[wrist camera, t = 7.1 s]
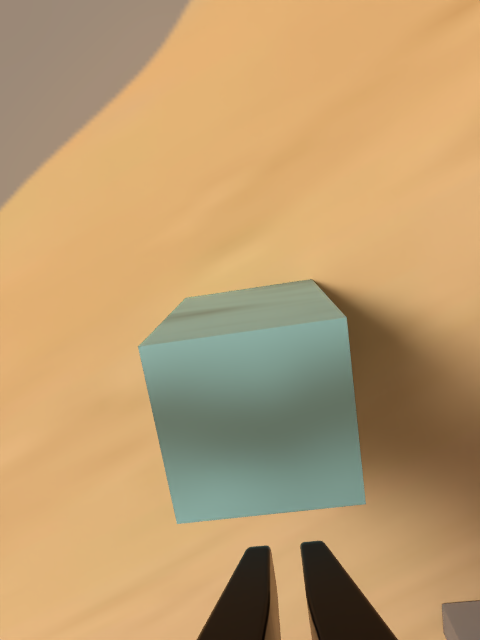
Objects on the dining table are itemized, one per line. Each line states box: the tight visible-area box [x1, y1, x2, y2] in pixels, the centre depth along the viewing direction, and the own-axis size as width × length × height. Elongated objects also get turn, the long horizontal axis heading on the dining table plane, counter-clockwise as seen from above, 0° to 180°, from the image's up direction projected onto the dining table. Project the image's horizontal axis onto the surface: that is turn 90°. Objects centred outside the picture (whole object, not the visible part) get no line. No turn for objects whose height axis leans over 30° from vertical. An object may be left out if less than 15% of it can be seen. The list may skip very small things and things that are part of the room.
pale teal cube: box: [138, 279, 366, 524], centre depth 16 cm, size 6×6×8 cm
